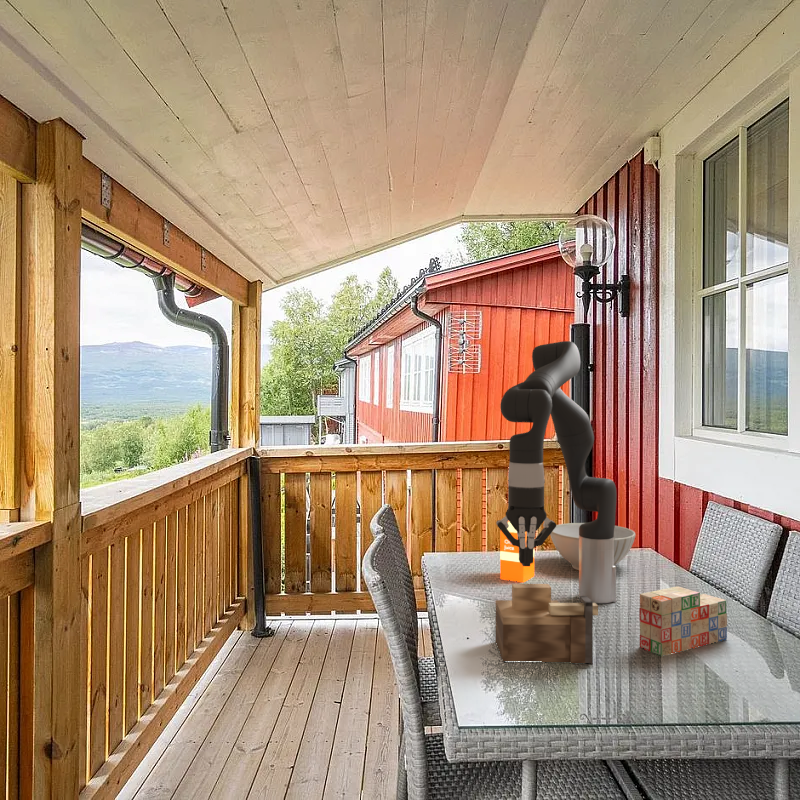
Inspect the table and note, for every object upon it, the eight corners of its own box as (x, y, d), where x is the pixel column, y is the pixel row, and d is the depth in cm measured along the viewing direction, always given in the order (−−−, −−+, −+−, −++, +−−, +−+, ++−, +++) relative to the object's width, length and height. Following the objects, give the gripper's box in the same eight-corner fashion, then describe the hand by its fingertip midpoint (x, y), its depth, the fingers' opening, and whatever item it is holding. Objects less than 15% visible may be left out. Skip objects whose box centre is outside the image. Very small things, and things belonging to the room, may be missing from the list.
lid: (557, 611, 157) (557, 578, 157) (570, 629, 145) (570, 593, 145) (495, 611, 157) (495, 578, 157) (503, 629, 145) (503, 593, 145)
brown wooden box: (577, 642, 157) (577, 585, 157) (592, 664, 144) (592, 602, 144) (495, 642, 157) (495, 585, 157) (503, 664, 144) (503, 602, 144)
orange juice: (534, 576, 213) (534, 511, 213) (523, 582, 206) (523, 515, 206) (511, 572, 218) (511, 509, 217) (499, 579, 210) (499, 513, 210)
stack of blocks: (704, 632, 164) (704, 580, 164) (727, 640, 158) (727, 587, 158) (638, 648, 154) (639, 592, 154) (661, 657, 148) (661, 600, 148)
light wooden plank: (595, 612, 147) (595, 602, 147) (598, 615, 145) (598, 605, 145) (548, 612, 147) (548, 602, 147) (550, 615, 145) (550, 605, 145)
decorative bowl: (647, 579, 210) (647, 539, 210) (559, 578, 210) (559, 539, 210) (620, 558, 237) (620, 522, 237) (542, 557, 237) (542, 522, 237)
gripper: (553, 481, 150) (553, 561, 150) (492, 481, 150) (492, 561, 150) (561, 486, 142) (561, 570, 142) (497, 485, 142) (497, 570, 143)
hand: (525, 565), depth 146 cm, fingers closed
